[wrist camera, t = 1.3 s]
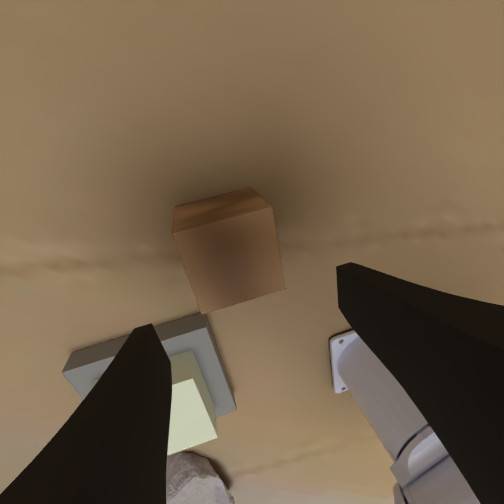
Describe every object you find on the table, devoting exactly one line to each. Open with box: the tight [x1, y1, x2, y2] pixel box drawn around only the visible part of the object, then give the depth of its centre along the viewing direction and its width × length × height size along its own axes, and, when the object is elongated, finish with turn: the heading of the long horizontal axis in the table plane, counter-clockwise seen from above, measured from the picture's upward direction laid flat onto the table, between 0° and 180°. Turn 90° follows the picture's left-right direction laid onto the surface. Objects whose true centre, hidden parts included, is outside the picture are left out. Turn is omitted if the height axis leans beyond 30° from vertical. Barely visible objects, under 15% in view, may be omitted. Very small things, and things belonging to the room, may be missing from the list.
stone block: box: [166, 452, 235, 504], centre depth 29 cm, size 12×5×10 cm
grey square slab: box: [62, 313, 237, 417], centre depth 22 cm, size 10×10×2 cm
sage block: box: [91, 350, 218, 455], centre depth 19 cm, size 7×7×2 cm
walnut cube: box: [172, 188, 286, 314], centre depth 16 cm, size 5×5×5 cm
